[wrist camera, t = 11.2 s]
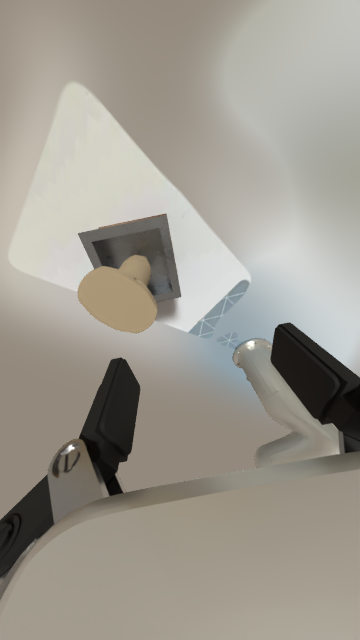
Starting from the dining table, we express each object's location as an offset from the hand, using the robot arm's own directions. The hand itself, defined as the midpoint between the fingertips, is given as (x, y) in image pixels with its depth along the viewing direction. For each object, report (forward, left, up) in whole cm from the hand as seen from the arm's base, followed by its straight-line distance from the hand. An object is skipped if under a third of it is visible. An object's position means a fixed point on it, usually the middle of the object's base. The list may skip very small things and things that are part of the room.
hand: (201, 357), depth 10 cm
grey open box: (+2, +6, -21) cm, 22 cm away
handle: (+2, +6, -21) cm, 21 cm away
